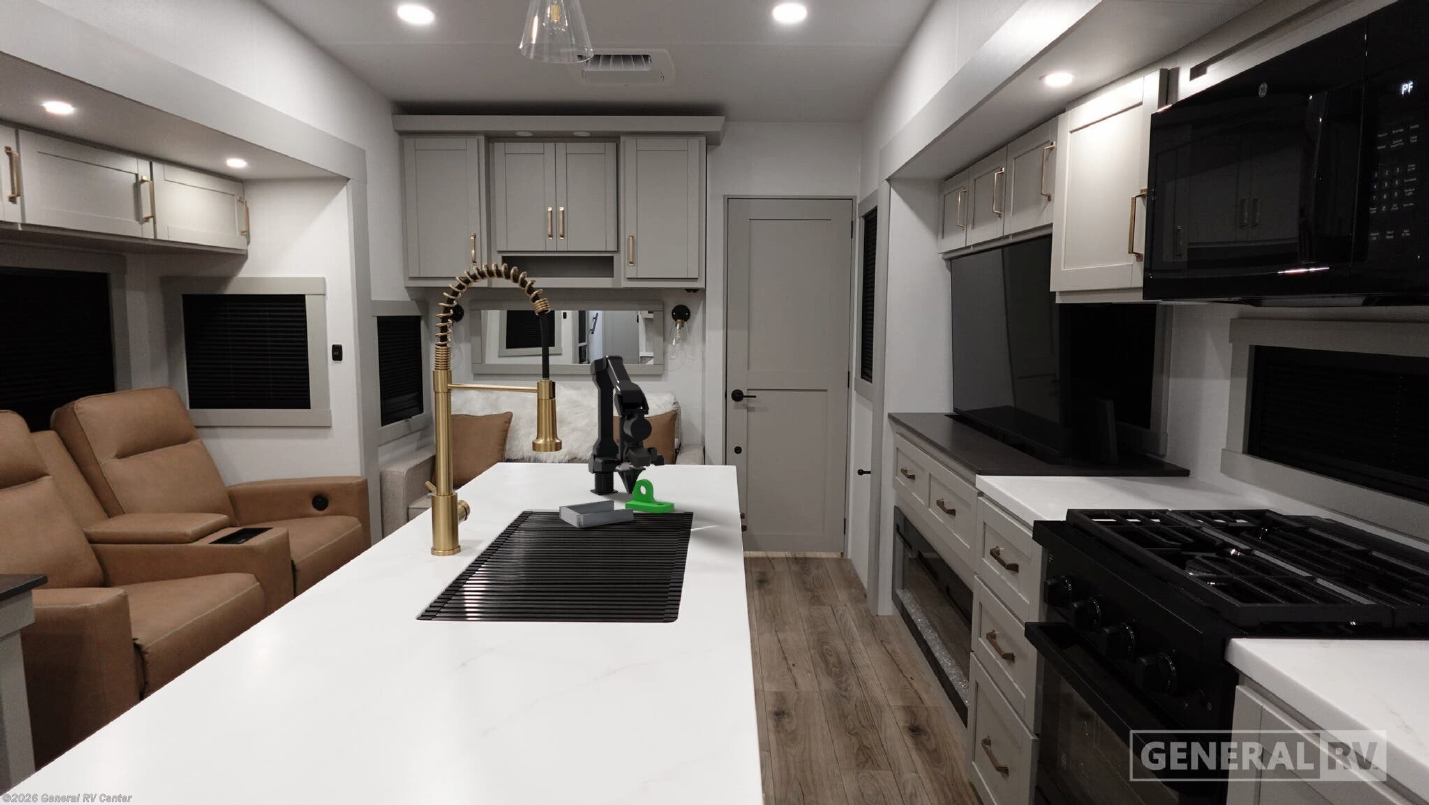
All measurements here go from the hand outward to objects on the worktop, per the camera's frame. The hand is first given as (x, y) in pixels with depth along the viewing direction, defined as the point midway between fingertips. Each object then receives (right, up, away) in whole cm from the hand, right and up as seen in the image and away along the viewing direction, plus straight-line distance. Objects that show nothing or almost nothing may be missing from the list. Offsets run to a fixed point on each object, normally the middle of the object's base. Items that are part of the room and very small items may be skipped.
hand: (629, 494), depth 198 cm
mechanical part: (+5, -6, +6) cm, 10 cm away
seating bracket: (-8, -6, -5) cm, 11 cm away
